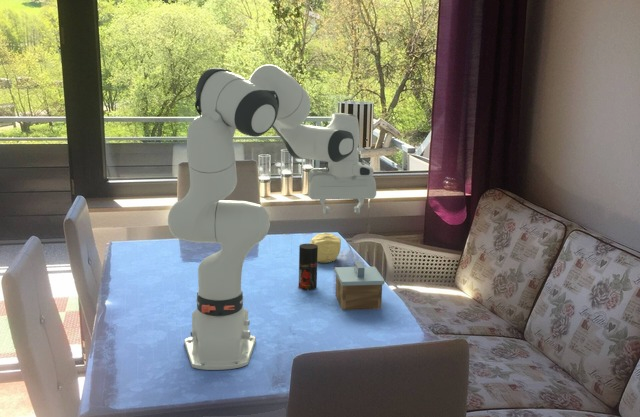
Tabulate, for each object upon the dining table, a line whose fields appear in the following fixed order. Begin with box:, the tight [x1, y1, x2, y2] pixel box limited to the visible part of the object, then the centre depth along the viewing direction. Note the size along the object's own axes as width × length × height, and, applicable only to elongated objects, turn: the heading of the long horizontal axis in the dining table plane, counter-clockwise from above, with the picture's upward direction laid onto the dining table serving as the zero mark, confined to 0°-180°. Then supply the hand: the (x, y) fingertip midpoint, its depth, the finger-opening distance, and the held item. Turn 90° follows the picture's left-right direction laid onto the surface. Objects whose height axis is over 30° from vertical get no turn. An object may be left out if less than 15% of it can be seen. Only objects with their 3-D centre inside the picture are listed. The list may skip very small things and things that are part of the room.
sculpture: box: [309, 232, 342, 264], centre depth 239 cm, size 12×12×11 cm
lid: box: [334, 261, 385, 286], centre depth 196 cm, size 13×13×5 cm
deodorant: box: [298, 243, 318, 291], centre depth 209 cm, size 6×6×15 cm
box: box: [335, 274, 383, 311], centre depth 198 cm, size 12×12×9 cm
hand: (341, 212), depth 192 cm, fingers open, 8 cm apart
